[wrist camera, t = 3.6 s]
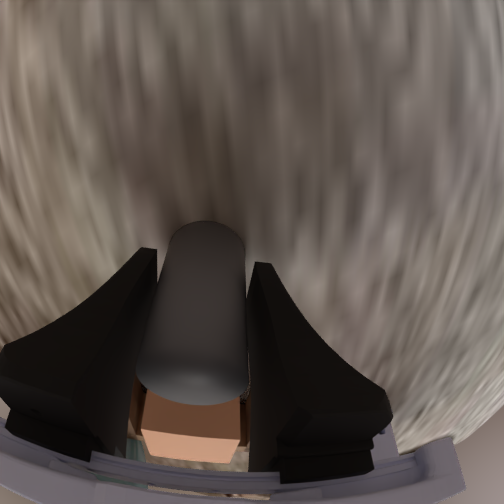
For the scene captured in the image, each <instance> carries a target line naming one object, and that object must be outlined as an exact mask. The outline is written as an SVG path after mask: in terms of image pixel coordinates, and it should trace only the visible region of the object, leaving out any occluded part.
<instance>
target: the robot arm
mask: <svg viewBox="0 0 504 504" xmlns="http://www.w3.org/2000/svg"><path fill="white" fill-rule="evenodd" d="M156 287H157V249H151V248H144V247H141V248H140V249H139V250H138V251H137V252H136V253H135V254H134V255H133V256H132V257H131V258H130V259H129V260H128V261H127V262H126V263H125V264H124V265H123V266H122V267H121V268H120V269H119V270H118V271H117V272H116V273H115V274H114V275H113V276H112V277H111V278H110V279H109V280H108V281H107V282H106V283H105V284H103V285H102V286H101V287H100V288H99V289H98V290H97V291H96V292H94V293H93V294H92V295H91V296H90V297H88V298H87V299H86V300H85V301H83V302H82V303H81V304H79V305H78V306H77V307H75V308H74V309H73V310H71V311H69V312H68V313H66V314H65V315H63V316H62V317H60V318H59V319H57V320H55V321H54V322H52V323H50V324H49V325H47V326H45V327H43V328H41V329H39V330H37V331H35V332H33V333H31V334H29V335H27V336H25V337H23V338H20V339H18V340H16V341H13V342H11V343H8V344H6V345H4V347H3V349H2V351H1V352H0V397H1V398H2V400H3V401H4V402H5V403H6V404H7V405H8V406H9V407H10V409H11V410H10V412H9V415H8V418H7V420H5V419H3V418H1V417H0V485H1V486H3V487H5V488H7V489H8V490H10V491H12V492H14V493H16V494H18V495H20V496H22V497H25V498H27V499H29V500H31V501H33V502H35V503H38V504H436V503H439V502H441V501H444V500H446V499H448V498H450V497H452V496H455V495H457V494H459V493H461V492H463V491H465V490H466V485H465V482H464V478H463V474H462V471H461V467H460V464H459V460H458V457H457V454H456V451H455V447H454V444H453V441H452V438H451V437H448V438H444V439H441V440H438V441H434V442H431V443H428V444H426V445H424V446H422V447H420V448H419V449H418V450H416V451H415V452H414V453H410V454H406V455H402V456H399V453H398V449H397V445H396V441H395V438H394V434H393V430H392V426H391V423H390V422H391V421H392V419H393V414H392V413H393V411H392V409H391V407H390V403H389V400H388V397H387V395H386V392H385V390H384V389H382V388H381V387H379V386H378V385H376V384H375V383H373V382H372V381H370V380H369V379H367V378H366V377H365V376H363V375H362V374H360V373H359V372H358V371H357V370H355V369H354V368H353V367H352V366H350V365H349V364H348V363H347V362H346V361H344V360H343V359H342V358H341V357H340V356H339V355H338V354H337V353H336V352H335V351H334V350H333V349H332V348H331V347H329V346H328V345H327V343H326V342H325V341H324V340H323V339H322V338H321V337H320V336H319V335H318V334H317V333H316V331H315V330H314V329H313V328H312V327H311V325H310V324H309V323H308V322H307V320H306V319H305V317H304V316H303V315H302V313H301V312H300V311H299V309H298V308H297V306H296V305H295V303H294V302H293V300H292V298H291V297H290V295H289V294H288V292H287V290H286V289H285V287H284V285H283V284H282V282H281V280H280V278H279V277H278V275H277V273H276V271H275V269H274V267H273V266H272V264H271V263H263V262H255V264H254V268H253V273H252V277H251V281H250V286H249V290H248V294H247V299H246V309H247V342H248V355H249V364H250V376H251V413H250V447H249V467H248V472H228V471H211V470H198V469H188V468H180V467H172V466H165V465H158V464H152V463H146V462H140V461H135V460H130V459H126V446H127V431H128V421H129V412H130V404H131V396H132V389H133V383H134V377H135V371H136V363H137V359H138V355H139V351H140V347H141V343H142V339H143V335H144V331H145V327H146V323H147V319H148V316H149V312H150V308H151V305H152V301H153V298H154V294H155V291H156ZM83 470H84V471H83ZM86 471H88V472H86ZM89 472H91V473H95V474H98V475H102V476H106V477H110V478H114V479H119V480H123V481H128V482H133V483H138V484H143V485H149V486H155V487H162V488H168V489H177V490H185V491H194V492H207V493H224V494H272V495H271V496H270V499H269V500H250V499H244V498H230V497H213V496H198V495H187V494H178V493H170V492H164V491H157V490H151V489H145V488H140V487H135V486H130V485H124V484H119V483H114V482H106V481H99V480H98V479H97V477H96V476H95V475H94V474H91V473H89ZM275 493H277V494H275Z"/></svg>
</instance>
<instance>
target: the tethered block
mask: <svg viewBox="0 0 504 504" xmlns="http://www.w3.org/2000/svg"><path fill="white" fill-rule="evenodd" d="M136 375H137V377H138V379H139V381H140V382H141V383H142V384H143V385H144V386H145V387H146V388H147V394H146V400H145V406H144V411H143V417H142V424H141V431H142V434H143V437H144V439H145V442H146V445H147V447H148V450H149V452H150V455H154V456H160V457H167V458H174V459H182V460H191V461H202V462H215V463H229V462H230V460H231V458H232V456H233V454H234V452H235V450H236V448H237V446H238V444H239V442H240V395H241V394H243V393H244V392H245V390H246V389H247V387H248V384H249V373H248V342H247V309H246V274H245V250H244V246H243V243H242V241H241V239H240V238H239V237H238V235H237V234H236V233H235V232H234V231H232V230H231V229H230V228H228V227H226V226H224V225H222V224H219V223H216V222H211V221H199V222H193V223H190V224H188V225H185V226H184V227H182V228H181V229H179V230H178V231H177V232H176V233H175V234H174V236H173V237H172V239H171V242H170V245H169V248H168V251H167V254H166V257H165V260H164V264H163V267H162V270H161V274H160V277H159V280H158V284H157V287H156V291H155V294H154V298H153V301H152V305H151V308H150V312H149V316H148V319H147V323H146V327H145V331H144V335H143V339H142V343H141V347H140V351H139V355H138V359H137V363H136Z"/></svg>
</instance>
